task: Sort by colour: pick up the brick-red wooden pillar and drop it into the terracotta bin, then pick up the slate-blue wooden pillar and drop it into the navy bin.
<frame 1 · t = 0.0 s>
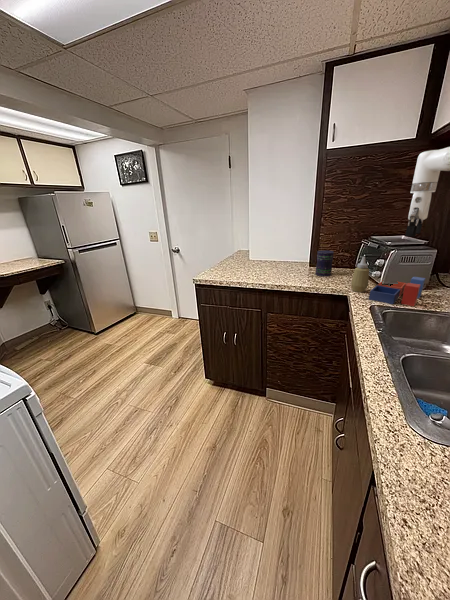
hand: (412, 234, 99), 31 cm above the counter, tool pointing down, fingers open, 9 cm apart
squeeze bottle: (358, 290, 132), on the counter
red bin: (390, 291, 128), on the counter
blue block: (413, 296, 121), on the counter
blue bin: (383, 298, 120), on the counter
red block: (408, 303, 113), on the counter
storage jar: (323, 274, 163), on the counter
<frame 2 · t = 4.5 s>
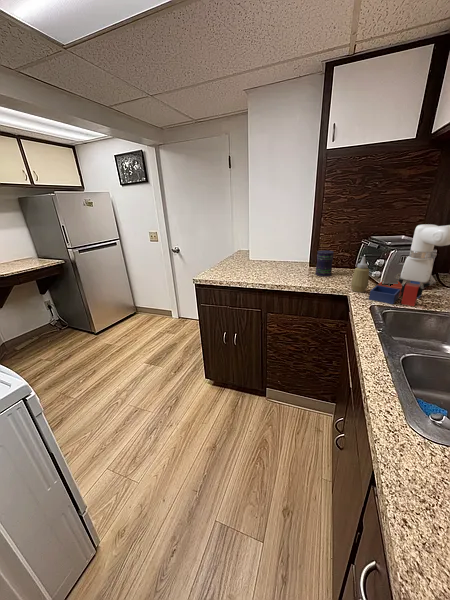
hand: (410, 294, 111), 4 cm above the counter, tool pointing down, fingers closed on red block, 4 cm apart
red block: (408, 303, 113), on the counter, touching gripper
everything else where it was.
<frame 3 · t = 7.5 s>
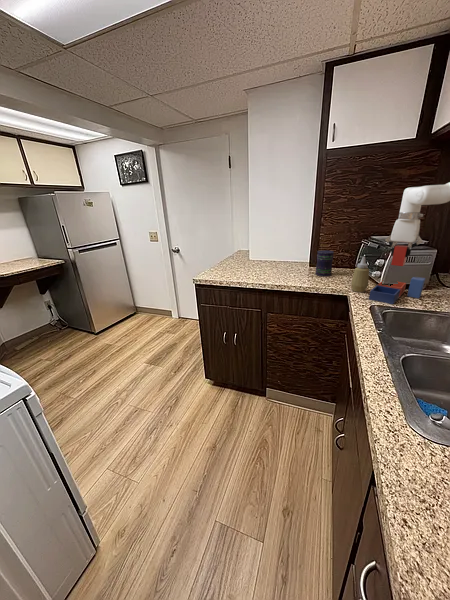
hand: (399, 255, 119), 19 cm above the counter, tool pointing down, fingers closed on red block, 4 cm apart
red block: (398, 264, 121), point 15 cm above the counter, touching gripper
everything else where it was.
when the fingers open (6 cm above the counter, at t = 10.8 s): red block stays where it is, resting on red bin.
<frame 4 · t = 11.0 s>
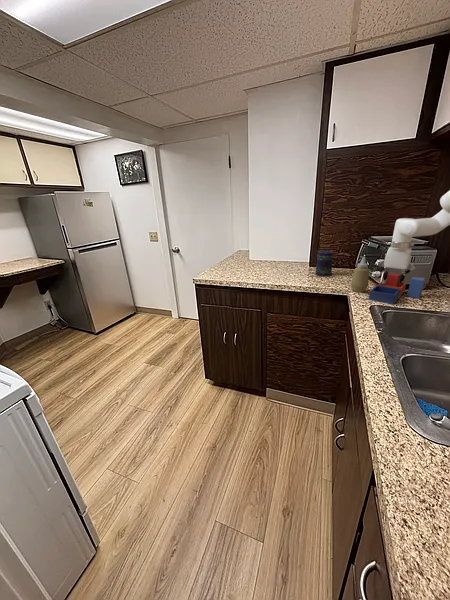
hand: (392, 280, 126), 6 cm above the counter, tool pointing down, fingers open, 6 cm apart
red block: (390, 291, 127), resting on red bin
everything else where it was.
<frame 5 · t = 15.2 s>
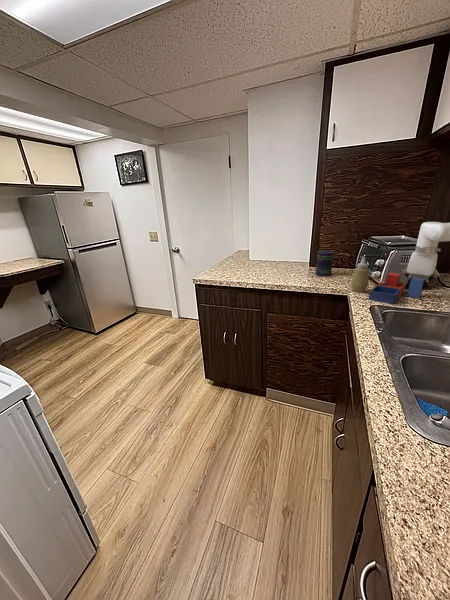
hand: (416, 287, 119), 4 cm above the counter, tool pointing down, fingers closed on blue block, 4 cm apart
blue block: (413, 296, 121), on the counter, touching gripper
everything else where it was.
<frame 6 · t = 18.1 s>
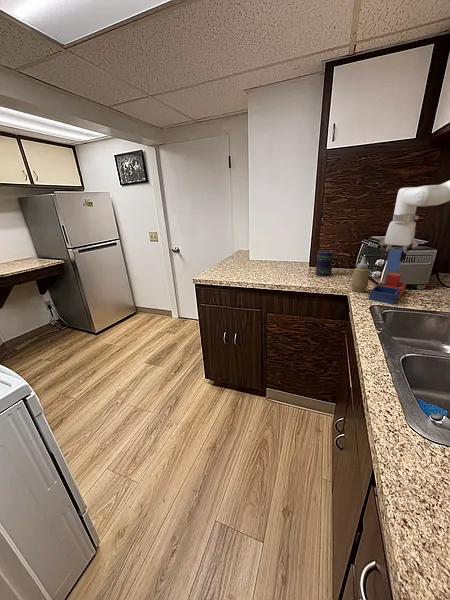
hand: (394, 259, 113), 19 cm above the counter, tool pointing down, fingers closed on blue block, 4 cm apart
blue block: (392, 269, 115), point 15 cm above the counter, touching gripper
everything else where it was.
when the fingers open (6 cm above the counter, at t = 21.4 s): blue block stays where it is, resting on blue bin.
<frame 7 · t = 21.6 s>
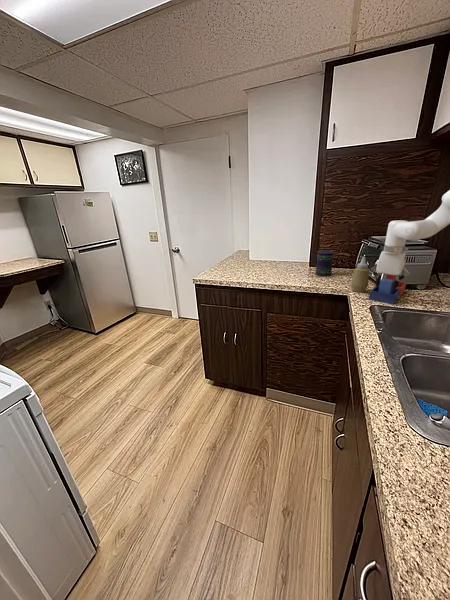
hand: (386, 286, 117), 6 cm above the counter, tool pointing down, fingers open, 6 cm apart
blue block: (384, 297, 119), resting on blue bin
everything else where it was.
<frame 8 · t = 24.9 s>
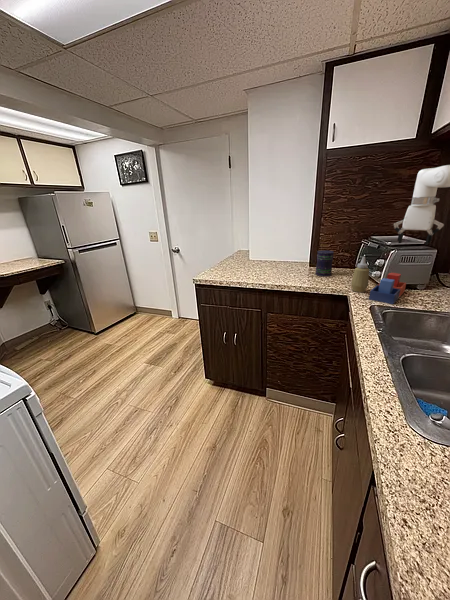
hand: (412, 243, 109), 26 cm above the counter, tool pointing down, fingers open, 9 cm apart
nothing on the counter moved.
at the end: red block inside the target area in the red bin (0.1 cm from its centre), point 0.5 cm above the red bin's base; blue block inside the target area in the blue bin (0.1 cm from its centre), point 0.5 cm above the blue bin's base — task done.
